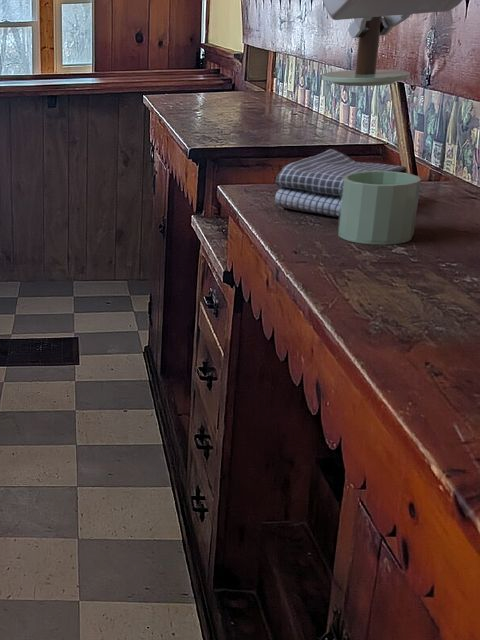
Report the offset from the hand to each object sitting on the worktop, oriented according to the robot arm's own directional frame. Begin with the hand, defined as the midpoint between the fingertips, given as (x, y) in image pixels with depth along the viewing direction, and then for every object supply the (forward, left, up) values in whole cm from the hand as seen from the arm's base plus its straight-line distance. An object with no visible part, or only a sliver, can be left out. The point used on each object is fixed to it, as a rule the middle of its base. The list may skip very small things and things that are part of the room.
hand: (366, 33), depth 116 cm
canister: (-3, -3, -28) cm, 29 cm away
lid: (-1, 0, -6) cm, 6 cm away
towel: (+7, -18, -28) cm, 35 cm away
